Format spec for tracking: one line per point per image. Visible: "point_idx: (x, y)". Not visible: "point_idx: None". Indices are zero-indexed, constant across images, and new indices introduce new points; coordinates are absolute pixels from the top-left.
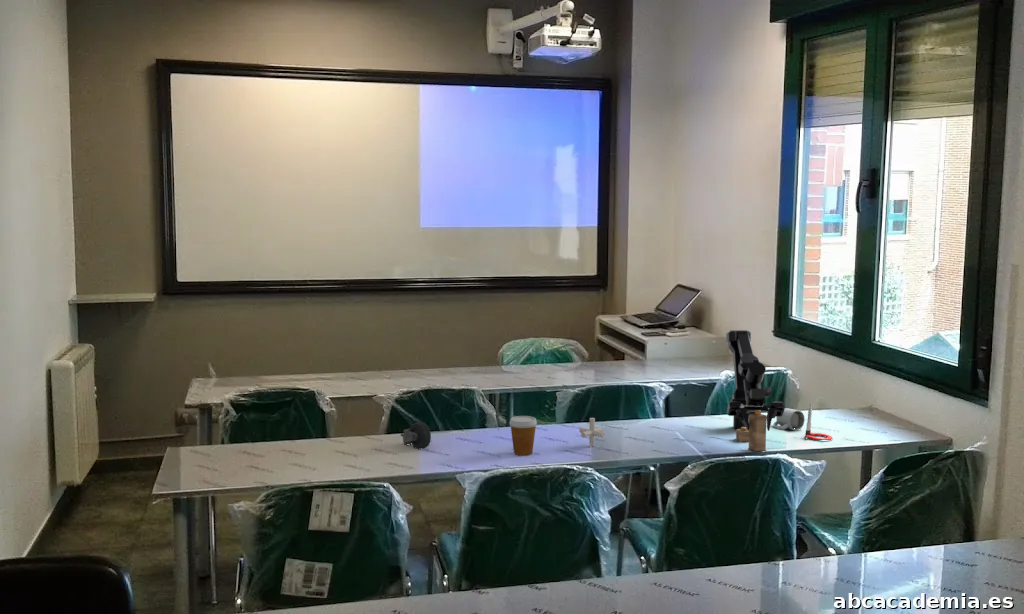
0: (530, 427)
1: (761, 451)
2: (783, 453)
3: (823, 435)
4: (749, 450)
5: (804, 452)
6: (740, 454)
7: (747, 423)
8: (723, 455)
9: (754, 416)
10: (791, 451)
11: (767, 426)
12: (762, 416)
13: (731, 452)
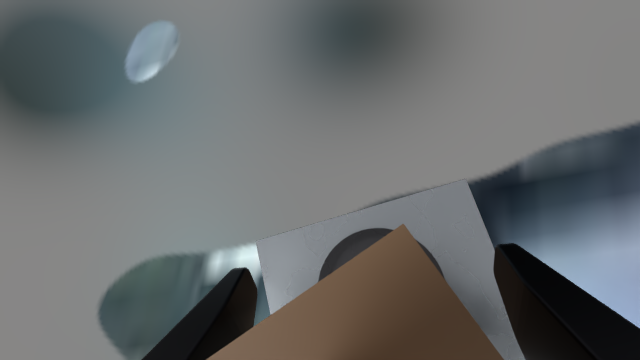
0: None
1: (353, 254)
2: (218, 279)
3: None
4: (438, 267)
5: (99, 321)
6: (502, 207)
7: (569, 298)
8: (633, 157)
9: (467, 316)
10: (162, 335)
11: (238, 332)
12: (253, 328)
13: (576, 250)
